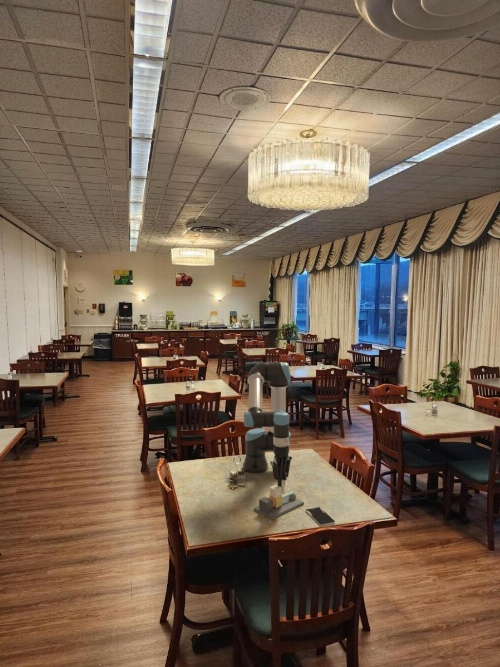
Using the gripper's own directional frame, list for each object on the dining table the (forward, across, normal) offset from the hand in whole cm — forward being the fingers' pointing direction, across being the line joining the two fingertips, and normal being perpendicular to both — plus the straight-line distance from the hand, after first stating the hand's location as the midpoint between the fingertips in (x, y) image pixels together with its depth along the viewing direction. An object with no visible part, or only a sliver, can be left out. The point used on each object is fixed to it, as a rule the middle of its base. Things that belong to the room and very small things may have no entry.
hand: (281, 492), depth 198 cm
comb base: (+7, -1, 0) cm, 7 cm away
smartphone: (+7, +6, -19) cm, 21 cm away
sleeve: (+5, -4, 0) cm, 6 cm away
